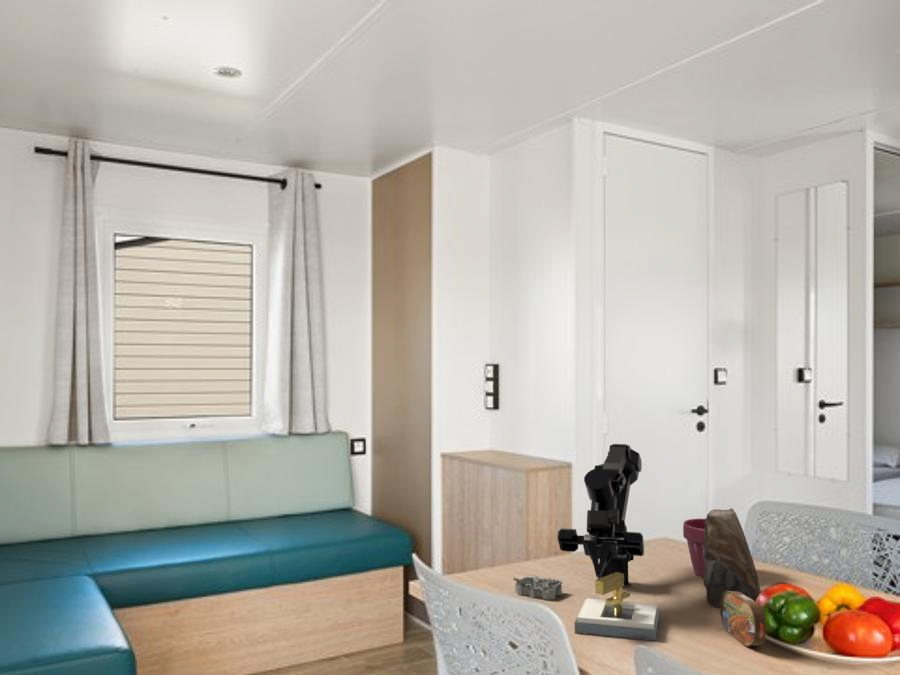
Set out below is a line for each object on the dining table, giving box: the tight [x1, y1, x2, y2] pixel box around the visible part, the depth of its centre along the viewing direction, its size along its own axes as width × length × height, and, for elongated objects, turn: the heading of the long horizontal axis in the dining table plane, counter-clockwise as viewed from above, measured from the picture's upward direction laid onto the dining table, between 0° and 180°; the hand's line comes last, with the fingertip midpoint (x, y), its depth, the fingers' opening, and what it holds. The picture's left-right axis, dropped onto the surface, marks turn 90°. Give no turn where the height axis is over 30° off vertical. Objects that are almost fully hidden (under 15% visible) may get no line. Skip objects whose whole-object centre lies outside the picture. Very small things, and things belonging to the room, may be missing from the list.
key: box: [594, 572, 631, 616], centre depth 159 cm, size 11×2×8 cm, turn 136°
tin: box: [719, 591, 767, 647], centre depth 152 cm, size 15×3×8 cm, turn 5°
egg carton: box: [513, 574, 564, 600], centre depth 183 cm, size 11×8×4 cm
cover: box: [576, 598, 658, 629], centre depth 161 cm, size 15×13×1 cm
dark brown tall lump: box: [703, 507, 762, 609], centre depth 177 cm, size 13×13×20 cm
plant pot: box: [682, 518, 706, 578], centre depth 198 cm, size 14×14×13 cm
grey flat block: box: [574, 605, 661, 641], centre depth 160 cm, size 16×14×2 cm
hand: (598, 576), depth 168 cm, fingers closed
